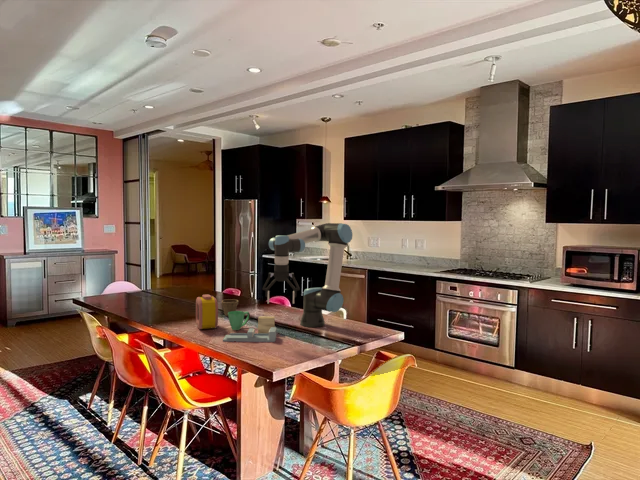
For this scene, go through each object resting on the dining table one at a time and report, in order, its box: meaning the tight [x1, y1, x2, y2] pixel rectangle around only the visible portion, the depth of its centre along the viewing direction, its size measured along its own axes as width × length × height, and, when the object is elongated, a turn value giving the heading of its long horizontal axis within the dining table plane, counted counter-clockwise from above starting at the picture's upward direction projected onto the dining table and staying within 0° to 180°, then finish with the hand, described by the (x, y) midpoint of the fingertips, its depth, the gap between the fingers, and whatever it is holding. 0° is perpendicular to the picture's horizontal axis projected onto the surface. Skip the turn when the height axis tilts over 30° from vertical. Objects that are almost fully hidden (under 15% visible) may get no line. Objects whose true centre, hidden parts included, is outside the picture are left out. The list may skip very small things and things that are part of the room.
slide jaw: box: [247, 327, 256, 338], centre depth 251 cm, size 9×3×4 cm, turn 1°
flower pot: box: [221, 298, 239, 317], centre depth 310 cm, size 12×11×10 cm
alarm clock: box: [195, 294, 219, 330], centre depth 275 cm, size 18×11×19 cm, turn 22°
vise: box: [222, 326, 277, 343], centre depth 251 cm, size 10×28×6 cm, turn 91°
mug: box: [227, 310, 251, 331], centre depth 274 cm, size 15×10×10 cm
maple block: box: [257, 315, 276, 333], centre depth 265 cm, size 5×9×9 cm, turn 91°
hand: (280, 303), depth 247 cm, fingers open, 13 cm apart
